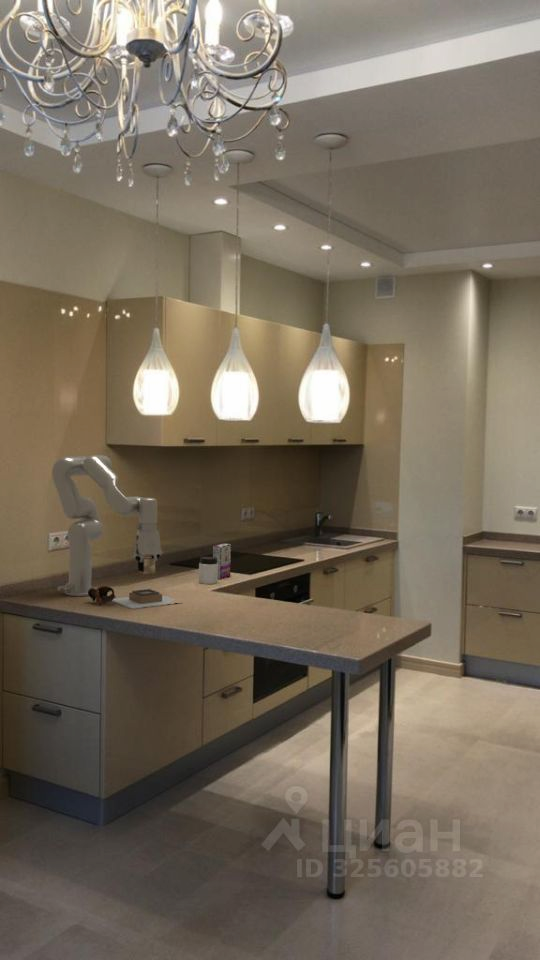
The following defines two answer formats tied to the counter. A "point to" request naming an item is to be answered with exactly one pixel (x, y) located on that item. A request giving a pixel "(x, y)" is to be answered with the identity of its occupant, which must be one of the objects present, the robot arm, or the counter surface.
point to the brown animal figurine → (101, 594)
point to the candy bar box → (223, 559)
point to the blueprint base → (137, 605)
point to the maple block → (148, 565)
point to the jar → (208, 570)
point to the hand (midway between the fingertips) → (146, 570)
